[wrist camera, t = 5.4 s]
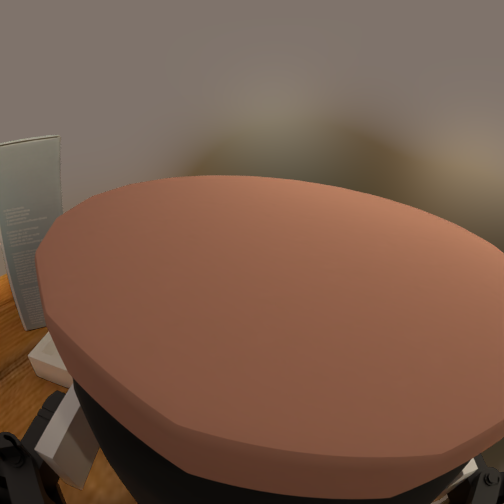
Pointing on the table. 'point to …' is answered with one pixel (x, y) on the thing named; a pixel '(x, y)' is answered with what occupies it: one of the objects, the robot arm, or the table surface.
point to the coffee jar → (276, 340)
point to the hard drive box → (28, 215)
